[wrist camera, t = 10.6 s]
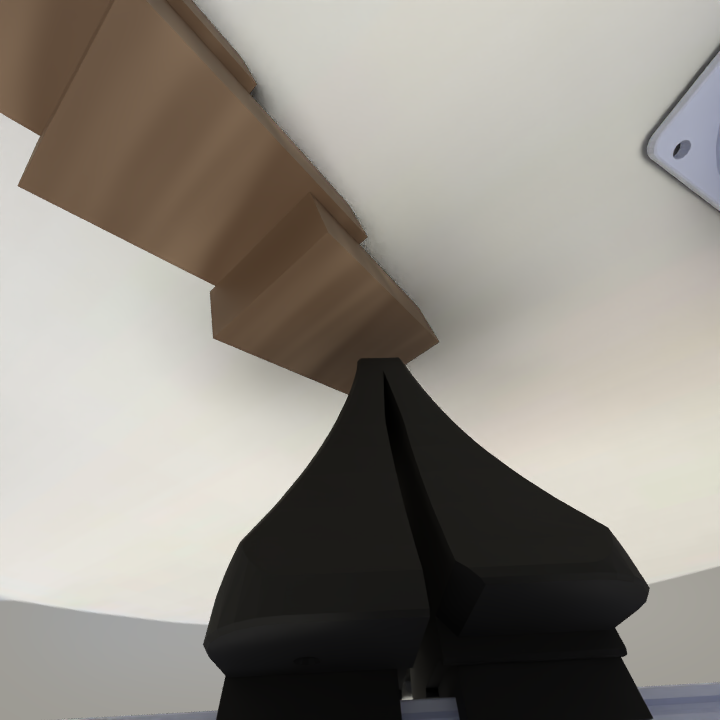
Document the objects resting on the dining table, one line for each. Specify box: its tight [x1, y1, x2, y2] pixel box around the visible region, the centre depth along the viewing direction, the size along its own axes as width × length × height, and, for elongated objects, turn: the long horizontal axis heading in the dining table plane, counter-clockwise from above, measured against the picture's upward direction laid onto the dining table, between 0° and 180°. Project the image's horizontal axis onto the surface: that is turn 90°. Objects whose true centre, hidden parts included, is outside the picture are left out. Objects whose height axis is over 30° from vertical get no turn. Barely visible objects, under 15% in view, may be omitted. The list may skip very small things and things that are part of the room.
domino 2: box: [18, 0, 367, 286], centre depth 9 cm, size 2×4×7 cm
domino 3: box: [210, 192, 439, 395], centre depth 12 cm, size 2×4×7 cm
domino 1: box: [0, 0, 256, 136], centre depth 7 cm, size 2×4×7 cm
